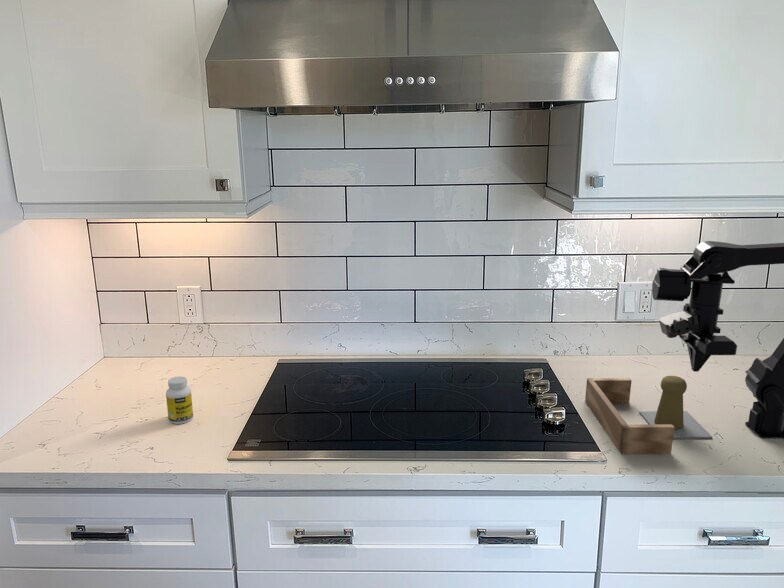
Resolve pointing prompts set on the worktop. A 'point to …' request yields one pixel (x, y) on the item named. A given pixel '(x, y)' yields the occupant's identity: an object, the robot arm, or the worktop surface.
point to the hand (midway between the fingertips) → (695, 370)
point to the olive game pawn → (671, 402)
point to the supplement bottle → (179, 401)
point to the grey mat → (689, 429)
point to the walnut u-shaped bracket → (624, 435)
